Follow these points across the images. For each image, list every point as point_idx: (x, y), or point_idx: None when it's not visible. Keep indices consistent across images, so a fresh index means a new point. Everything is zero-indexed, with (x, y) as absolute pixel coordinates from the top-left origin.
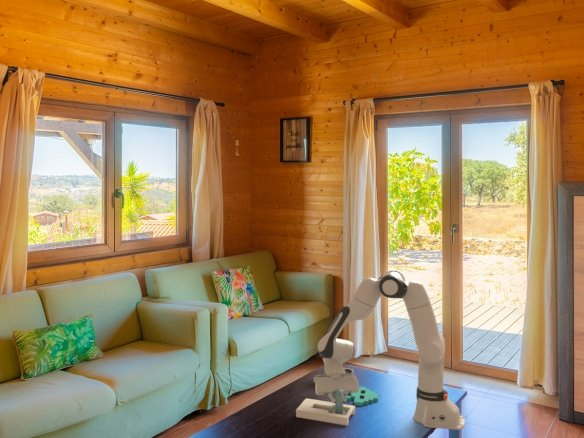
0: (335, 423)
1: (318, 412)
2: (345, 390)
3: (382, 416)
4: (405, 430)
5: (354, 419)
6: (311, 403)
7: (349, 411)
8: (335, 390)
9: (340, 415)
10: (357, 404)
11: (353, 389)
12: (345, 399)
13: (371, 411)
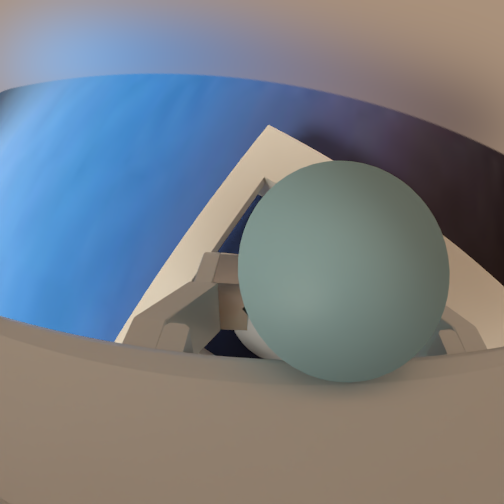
0: None
1: (472, 276)
2: (153, 349)
3: (11, 249)
4: (25, 98)
5: (177, 240)
6: None
7: (201, 243)
8: (449, 272)
9: None
10: None
11: (3, 322)
12: (215, 264)
13: None
